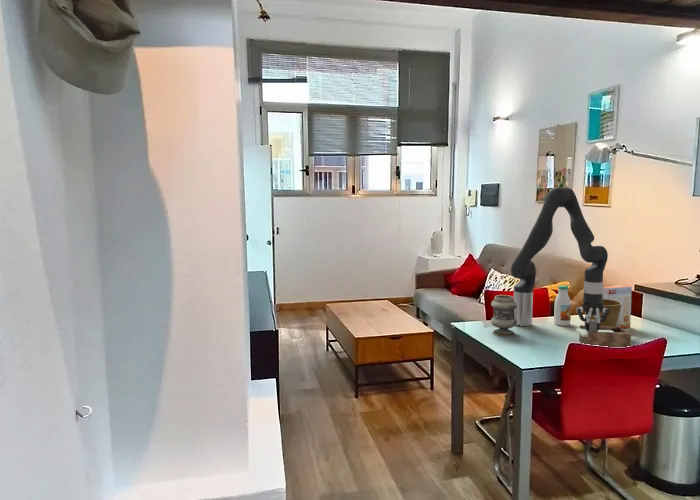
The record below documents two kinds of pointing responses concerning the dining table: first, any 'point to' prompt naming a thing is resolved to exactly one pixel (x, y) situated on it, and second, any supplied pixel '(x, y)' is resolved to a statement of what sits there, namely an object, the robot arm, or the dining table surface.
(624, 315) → the cracker box
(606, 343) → the walnut box
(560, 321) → the milk bottle
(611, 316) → the plant pot
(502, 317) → the apothecary jar
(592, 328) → the lid
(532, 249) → the robot arm
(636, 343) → the dining table surface
